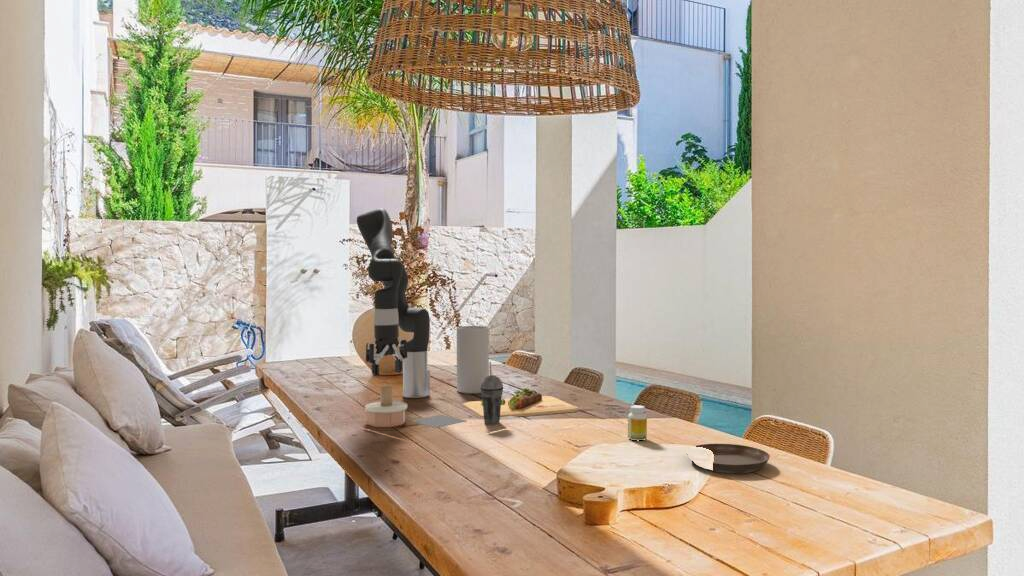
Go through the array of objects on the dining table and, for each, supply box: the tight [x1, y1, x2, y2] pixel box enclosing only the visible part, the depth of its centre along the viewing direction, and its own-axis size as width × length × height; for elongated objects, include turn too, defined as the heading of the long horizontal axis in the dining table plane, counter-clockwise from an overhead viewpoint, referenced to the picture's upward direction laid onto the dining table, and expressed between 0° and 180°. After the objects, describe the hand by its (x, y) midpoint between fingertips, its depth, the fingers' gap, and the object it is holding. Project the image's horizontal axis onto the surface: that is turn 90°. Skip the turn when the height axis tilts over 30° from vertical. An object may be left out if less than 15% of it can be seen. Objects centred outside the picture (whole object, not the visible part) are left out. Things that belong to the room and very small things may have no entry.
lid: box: [364, 384, 408, 413], centre depth 231 cm, size 13×13×7 cm
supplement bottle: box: [627, 404, 648, 441], centre depth 213 cm, size 5×5×10 cm
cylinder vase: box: [456, 325, 490, 395], centre depth 287 cm, size 12×12×25 cm
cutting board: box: [462, 387, 579, 418], centre depth 255 cm, size 35×23×8 cm
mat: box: [410, 414, 467, 429], centre depth 234 cm, size 13×13×1 cm
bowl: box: [366, 410, 406, 428], centre depth 231 cm, size 11×11×5 cm
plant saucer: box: [695, 443, 771, 475], centre depth 188 cm, size 21×21×3 cm
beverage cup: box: [480, 361, 504, 426], centre depth 231 cm, size 7×7×20 cm
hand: (387, 374), depth 231 cm, fingers open, 8 cm apart
